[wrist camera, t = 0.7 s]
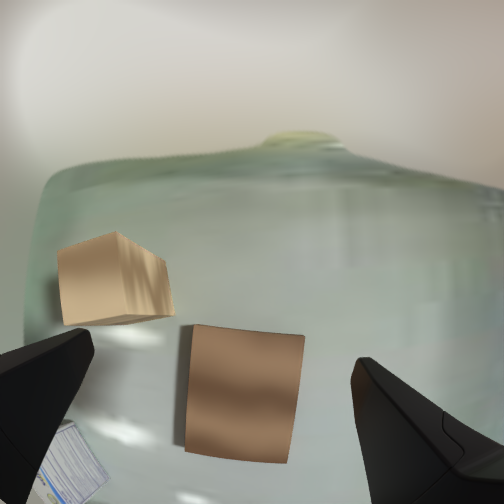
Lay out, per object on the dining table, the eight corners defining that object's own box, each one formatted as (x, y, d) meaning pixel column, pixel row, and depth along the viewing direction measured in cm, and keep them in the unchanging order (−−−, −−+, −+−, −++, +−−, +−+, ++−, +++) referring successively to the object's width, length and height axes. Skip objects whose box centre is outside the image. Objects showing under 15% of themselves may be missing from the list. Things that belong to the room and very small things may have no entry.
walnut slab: (285, 453, 21) (286, 463, 19) (189, 442, 21) (184, 451, 19) (301, 334, 23) (305, 336, 22) (199, 323, 24) (193, 324, 22)
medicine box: (53, 426, 21) (6, 445, 13) (75, 420, 21) (25, 442, 13) (88, 481, 19) (49, 511, 11) (112, 478, 20) (74, 514, 11)
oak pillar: (175, 315, 24) (126, 314, 14) (127, 324, 24) (64, 325, 14) (165, 261, 25) (115, 231, 16) (118, 272, 25) (57, 250, 15)
